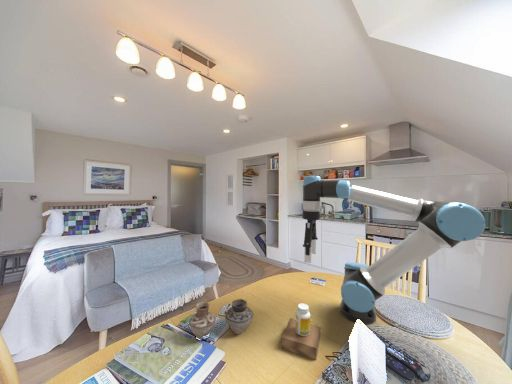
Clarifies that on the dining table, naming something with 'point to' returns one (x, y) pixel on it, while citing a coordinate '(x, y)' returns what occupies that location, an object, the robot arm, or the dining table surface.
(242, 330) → the pottery
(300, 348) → the walnut block
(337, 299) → the dining table surface
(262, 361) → the dining table surface
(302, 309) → the supplement bottle
